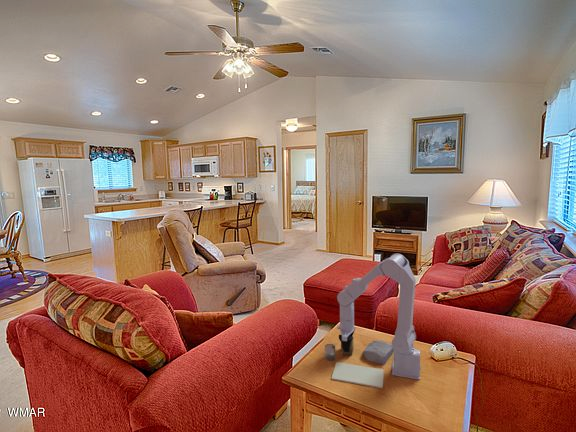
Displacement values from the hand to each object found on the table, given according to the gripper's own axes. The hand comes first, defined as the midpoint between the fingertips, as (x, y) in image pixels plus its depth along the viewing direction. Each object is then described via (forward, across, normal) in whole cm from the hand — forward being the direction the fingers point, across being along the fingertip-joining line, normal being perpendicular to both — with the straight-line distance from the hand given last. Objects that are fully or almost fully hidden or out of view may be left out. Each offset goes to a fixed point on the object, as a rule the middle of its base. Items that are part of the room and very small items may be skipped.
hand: (347, 348), depth 133 cm
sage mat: (+2, +14, +6) cm, 15 cm away
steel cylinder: (+2, +6, -6) cm, 9 cm away
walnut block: (+2, 0, 0) cm, 2 cm away
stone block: (+2, -2, +12) cm, 12 cm away
